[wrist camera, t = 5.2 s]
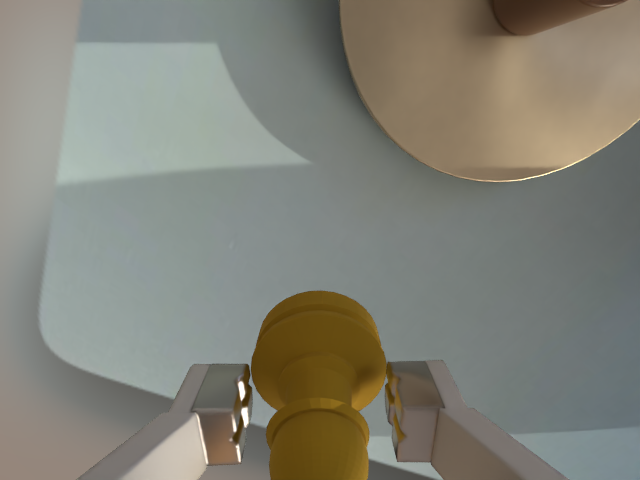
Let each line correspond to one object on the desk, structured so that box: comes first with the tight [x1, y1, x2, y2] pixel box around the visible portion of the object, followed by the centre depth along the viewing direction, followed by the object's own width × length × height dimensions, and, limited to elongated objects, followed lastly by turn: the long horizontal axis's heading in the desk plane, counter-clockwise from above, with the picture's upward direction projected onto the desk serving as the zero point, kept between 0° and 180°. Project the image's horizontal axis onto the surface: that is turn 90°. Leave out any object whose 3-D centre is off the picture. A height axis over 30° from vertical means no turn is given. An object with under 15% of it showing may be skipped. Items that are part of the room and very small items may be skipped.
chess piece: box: [251, 291, 386, 480], centre depth 9 cm, size 4×4×5 cm
